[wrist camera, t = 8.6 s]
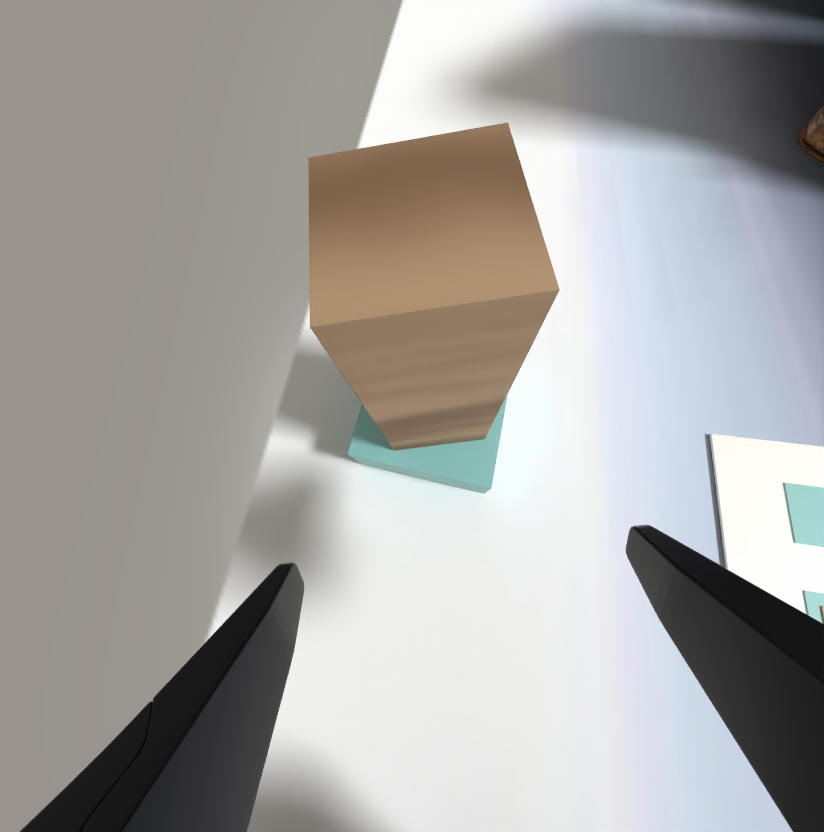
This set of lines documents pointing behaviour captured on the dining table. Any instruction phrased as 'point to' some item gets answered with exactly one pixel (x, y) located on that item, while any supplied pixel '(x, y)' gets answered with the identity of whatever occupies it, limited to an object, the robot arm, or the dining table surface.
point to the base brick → (431, 456)
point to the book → (814, 136)
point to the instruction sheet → (773, 516)
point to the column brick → (428, 279)
